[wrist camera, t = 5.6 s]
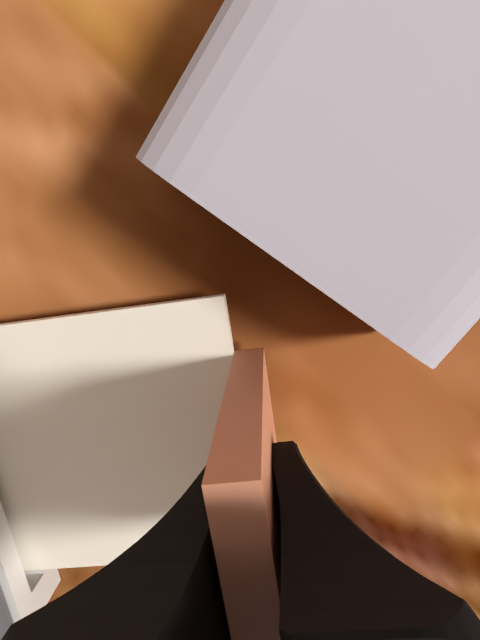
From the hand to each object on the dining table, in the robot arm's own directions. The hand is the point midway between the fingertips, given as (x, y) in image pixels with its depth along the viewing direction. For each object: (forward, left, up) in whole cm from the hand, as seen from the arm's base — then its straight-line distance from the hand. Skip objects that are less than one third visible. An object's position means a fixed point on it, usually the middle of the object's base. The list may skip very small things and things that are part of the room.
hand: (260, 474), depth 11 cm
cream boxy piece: (0, +6, -3) cm, 6 cm away
